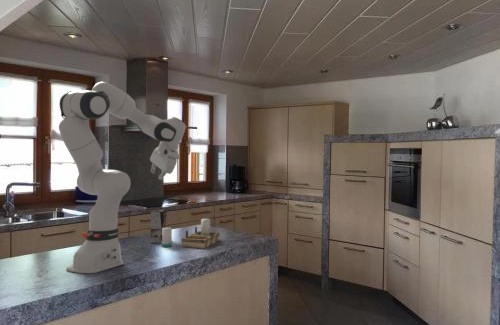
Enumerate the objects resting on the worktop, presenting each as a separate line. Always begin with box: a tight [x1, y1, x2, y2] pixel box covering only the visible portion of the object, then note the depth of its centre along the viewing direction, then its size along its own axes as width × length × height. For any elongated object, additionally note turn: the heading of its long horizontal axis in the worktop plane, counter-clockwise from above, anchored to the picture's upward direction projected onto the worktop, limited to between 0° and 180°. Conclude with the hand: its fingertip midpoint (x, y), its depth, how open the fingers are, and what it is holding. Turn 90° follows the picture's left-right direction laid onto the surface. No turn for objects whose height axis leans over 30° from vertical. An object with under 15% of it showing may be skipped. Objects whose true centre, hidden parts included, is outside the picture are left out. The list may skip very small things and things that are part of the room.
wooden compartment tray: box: [181, 226, 221, 250], centre depth 204 cm, size 20×12×7 cm, turn 162°
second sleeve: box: [200, 218, 211, 235], centre depth 208 cm, size 5×5×9 cm
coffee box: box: [150, 209, 167, 244], centre depth 208 cm, size 9×6×16 cm
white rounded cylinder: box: [161, 226, 173, 249], centre depth 196 cm, size 5×5×9 cm
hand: (156, 175), depth 194 cm, fingers open, 8 cm apart
